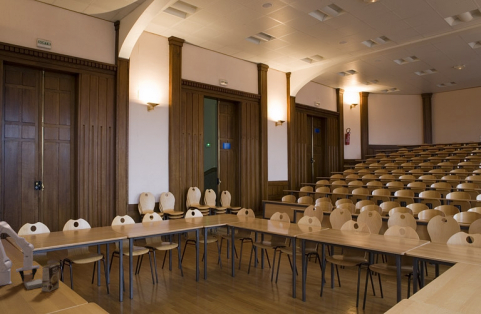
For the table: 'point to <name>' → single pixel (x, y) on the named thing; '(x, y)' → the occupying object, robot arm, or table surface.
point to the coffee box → (50, 277)
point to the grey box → (33, 284)
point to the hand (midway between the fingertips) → (27, 280)
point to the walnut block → (28, 277)
